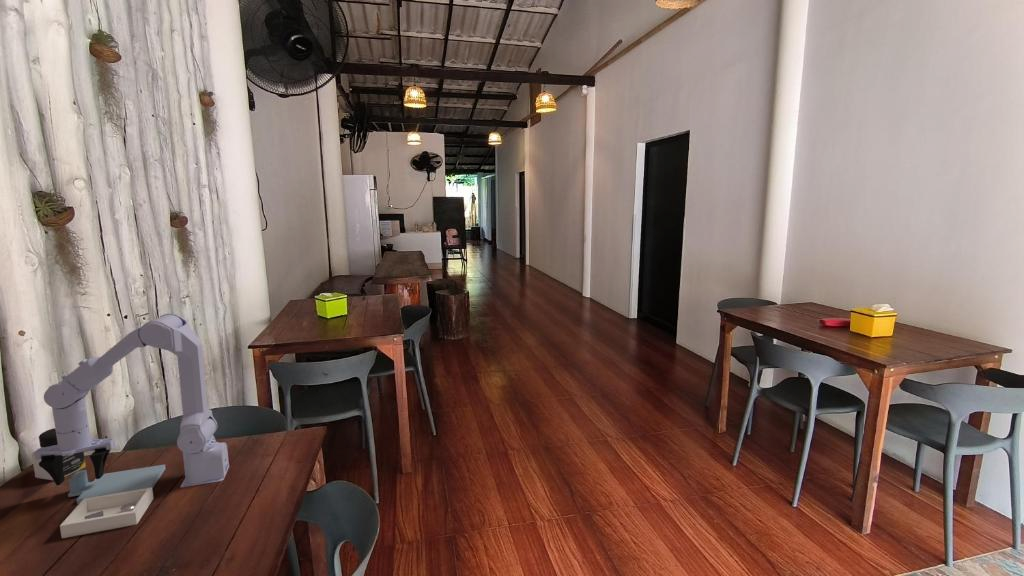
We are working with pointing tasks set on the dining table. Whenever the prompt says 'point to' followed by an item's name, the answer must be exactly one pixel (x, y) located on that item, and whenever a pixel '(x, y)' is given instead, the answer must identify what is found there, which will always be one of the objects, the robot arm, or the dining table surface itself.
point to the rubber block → (94, 515)
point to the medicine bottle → (69, 462)
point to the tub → (106, 512)
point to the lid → (114, 482)
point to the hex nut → (127, 507)
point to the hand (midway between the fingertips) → (80, 480)
